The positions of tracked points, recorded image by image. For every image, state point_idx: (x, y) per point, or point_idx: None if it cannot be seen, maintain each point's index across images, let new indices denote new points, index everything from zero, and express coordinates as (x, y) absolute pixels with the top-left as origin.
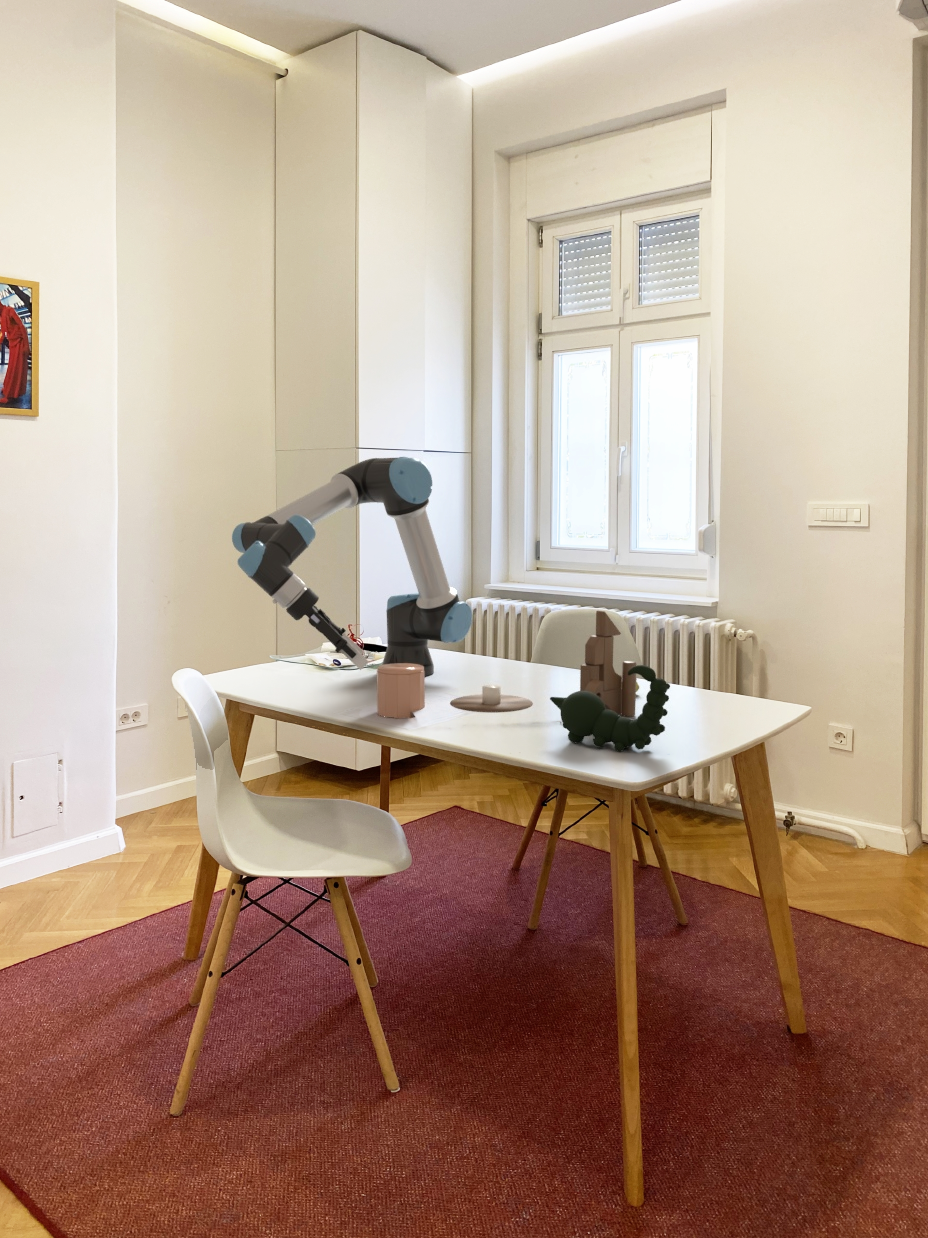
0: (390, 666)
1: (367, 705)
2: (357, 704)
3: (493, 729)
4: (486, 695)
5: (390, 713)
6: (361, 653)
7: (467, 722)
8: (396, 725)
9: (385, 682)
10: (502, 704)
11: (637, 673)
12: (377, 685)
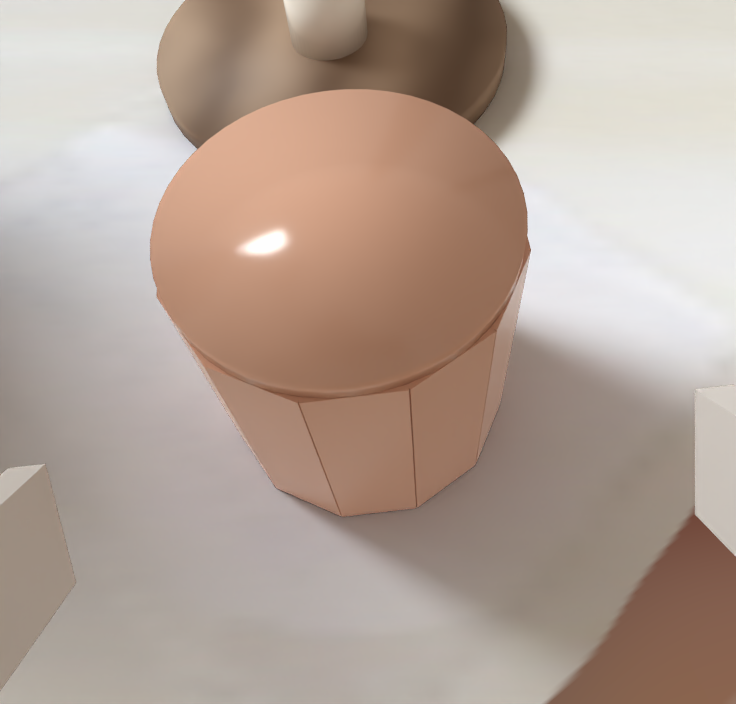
0: (287, 284)
1: (132, 583)
2: (84, 654)
3: (686, 57)
4: (355, 12)
5: (487, 429)
6: (48, 501)
7: (572, 129)
8: (663, 406)
9: (489, 365)
10: (365, 6)
11: None
12: (361, 446)
